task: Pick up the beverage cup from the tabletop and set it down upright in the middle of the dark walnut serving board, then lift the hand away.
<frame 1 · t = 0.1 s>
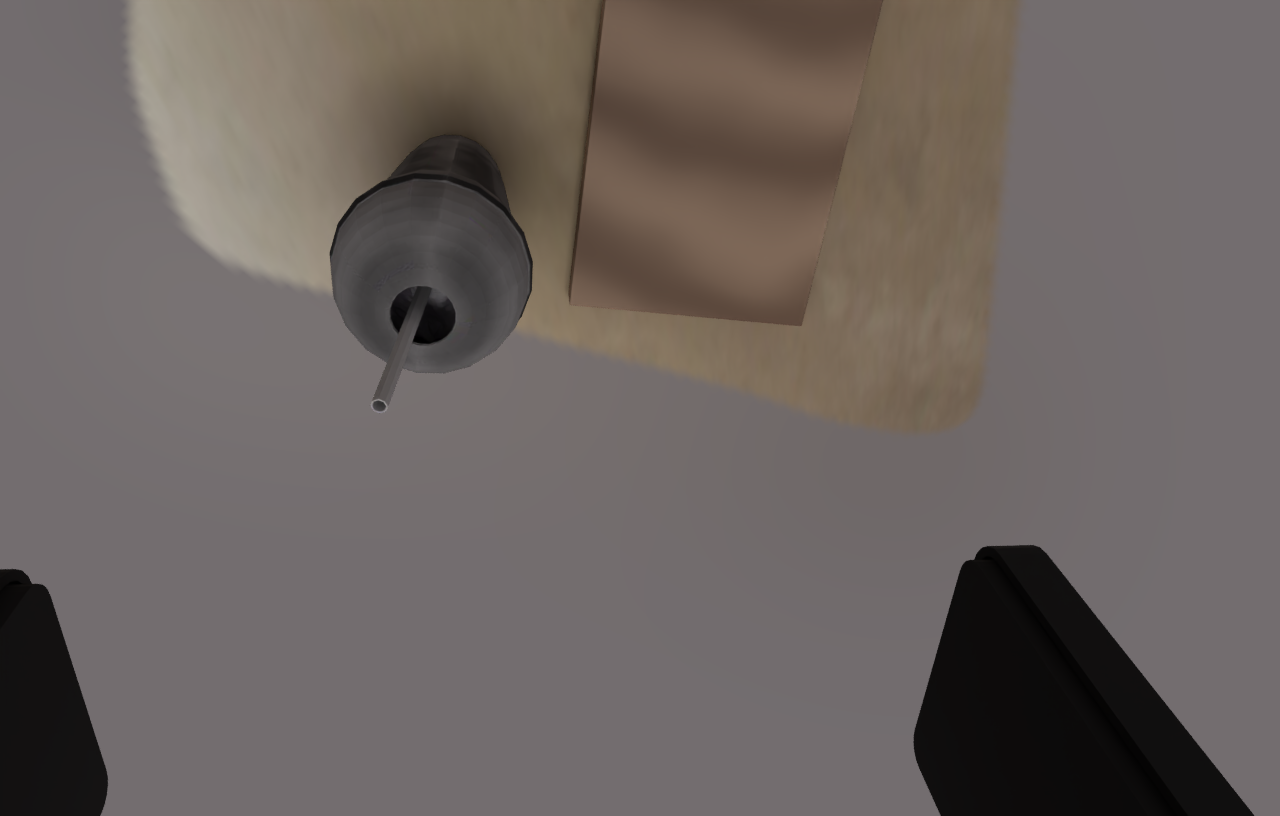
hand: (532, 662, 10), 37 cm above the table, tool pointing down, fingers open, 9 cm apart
serving board: (715, 128, 44), on the table
beverage cup: (453, 182, 44), on the table
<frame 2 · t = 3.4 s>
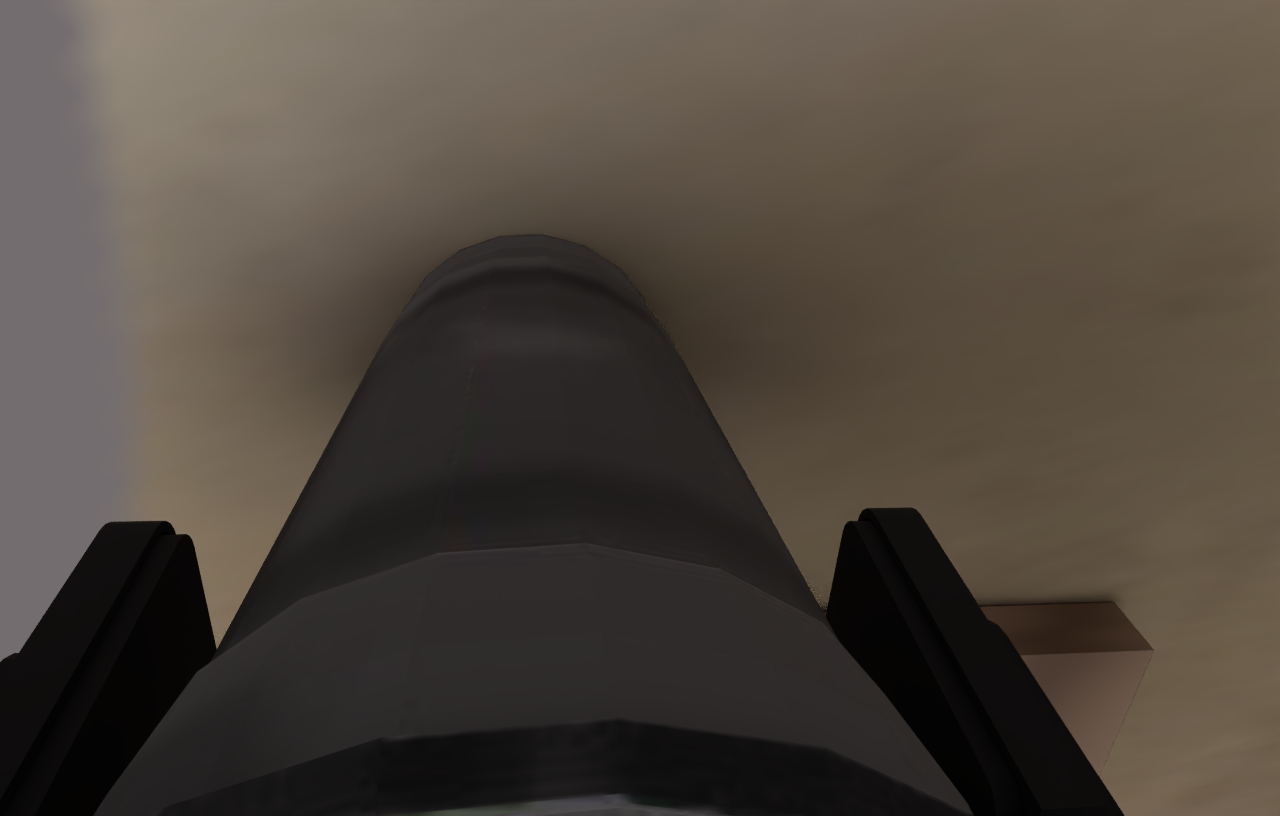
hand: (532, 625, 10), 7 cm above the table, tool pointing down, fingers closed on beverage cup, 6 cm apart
serving board: (694, 804, 22), on the table
beverage cup: (529, 353, 16), on the table, touching gripper
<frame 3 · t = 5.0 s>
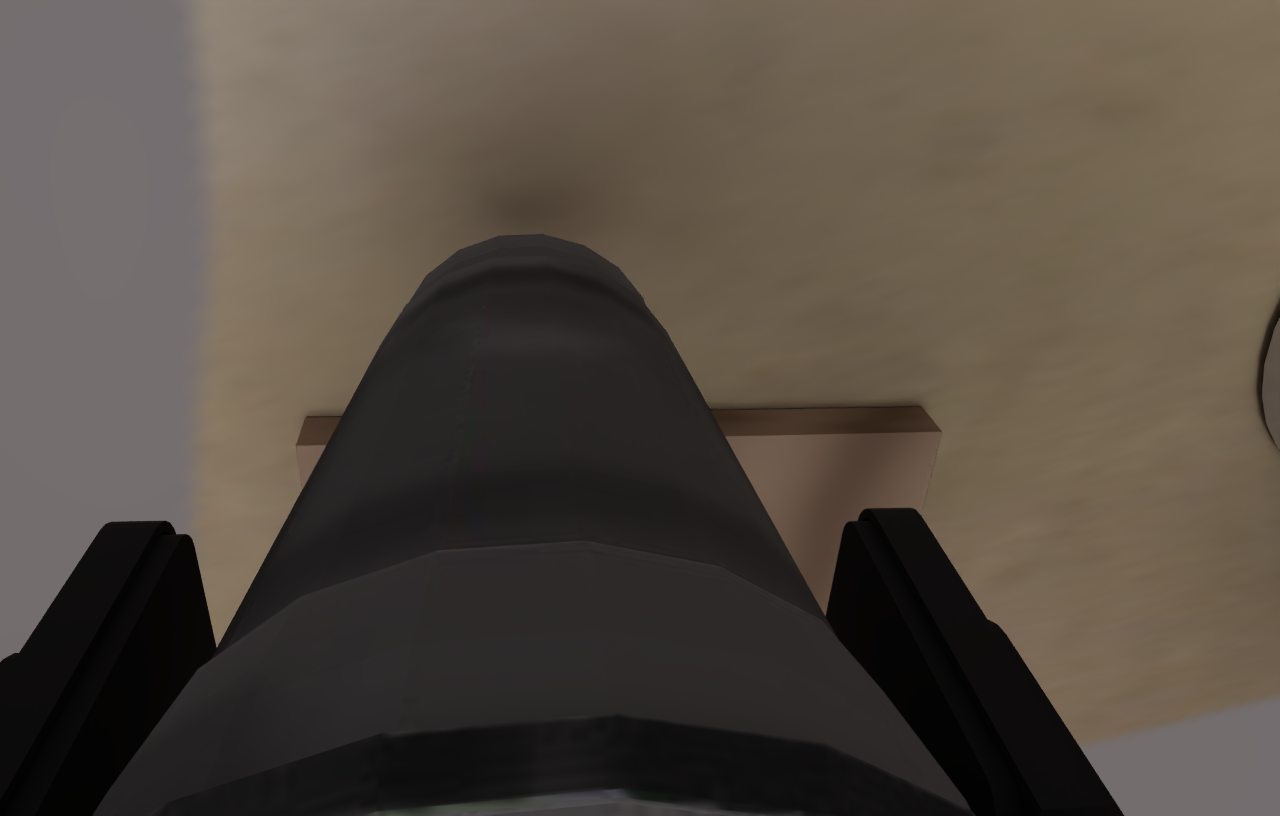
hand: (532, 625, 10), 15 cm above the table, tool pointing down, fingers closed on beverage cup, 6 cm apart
serving board: (619, 574, 30), on the table
beverage cup: (528, 353, 16), point 8 cm above the table, touching gripper
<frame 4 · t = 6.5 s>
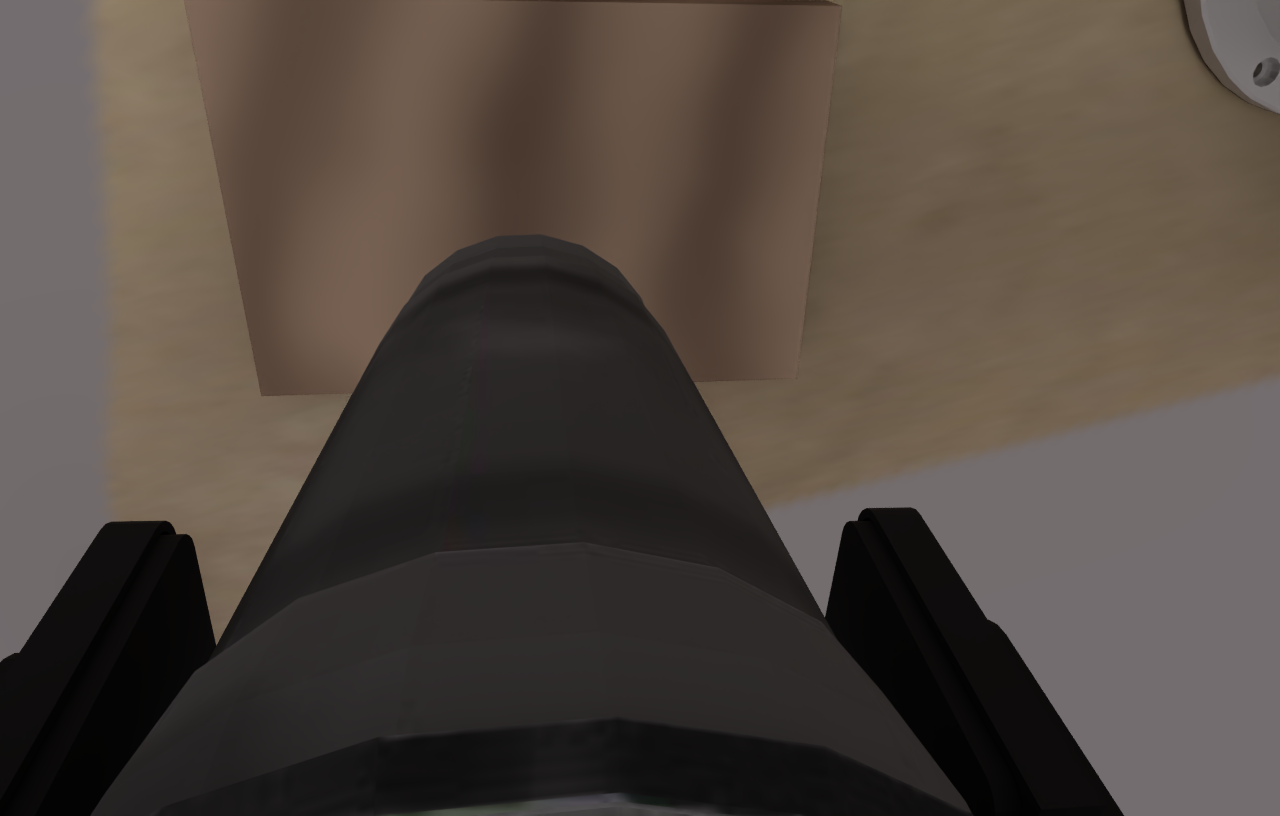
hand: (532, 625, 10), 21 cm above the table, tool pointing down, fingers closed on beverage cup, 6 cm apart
serving board: (531, 199, 30), on the table
beverage cup: (527, 353, 16), point 15 cm above the table, touching gripper
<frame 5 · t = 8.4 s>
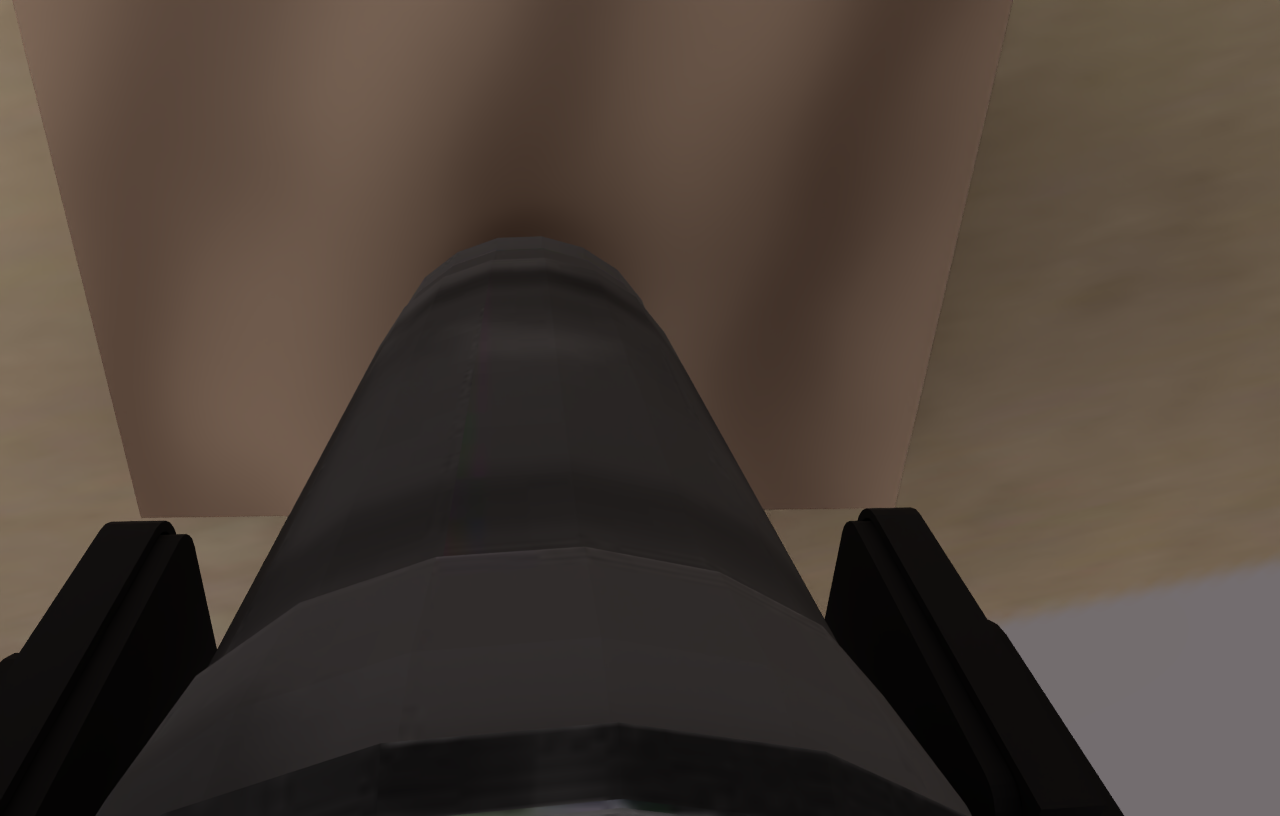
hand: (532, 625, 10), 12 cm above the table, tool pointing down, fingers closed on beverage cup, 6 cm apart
serving board: (536, 253, 21), on the table
beverage cup: (527, 355, 16), point 5 cm above the table, touching gripper
when the fingers open (9 cm above the table, at t = 10.0 s): beverage cup stays where it is, resting on serving board.
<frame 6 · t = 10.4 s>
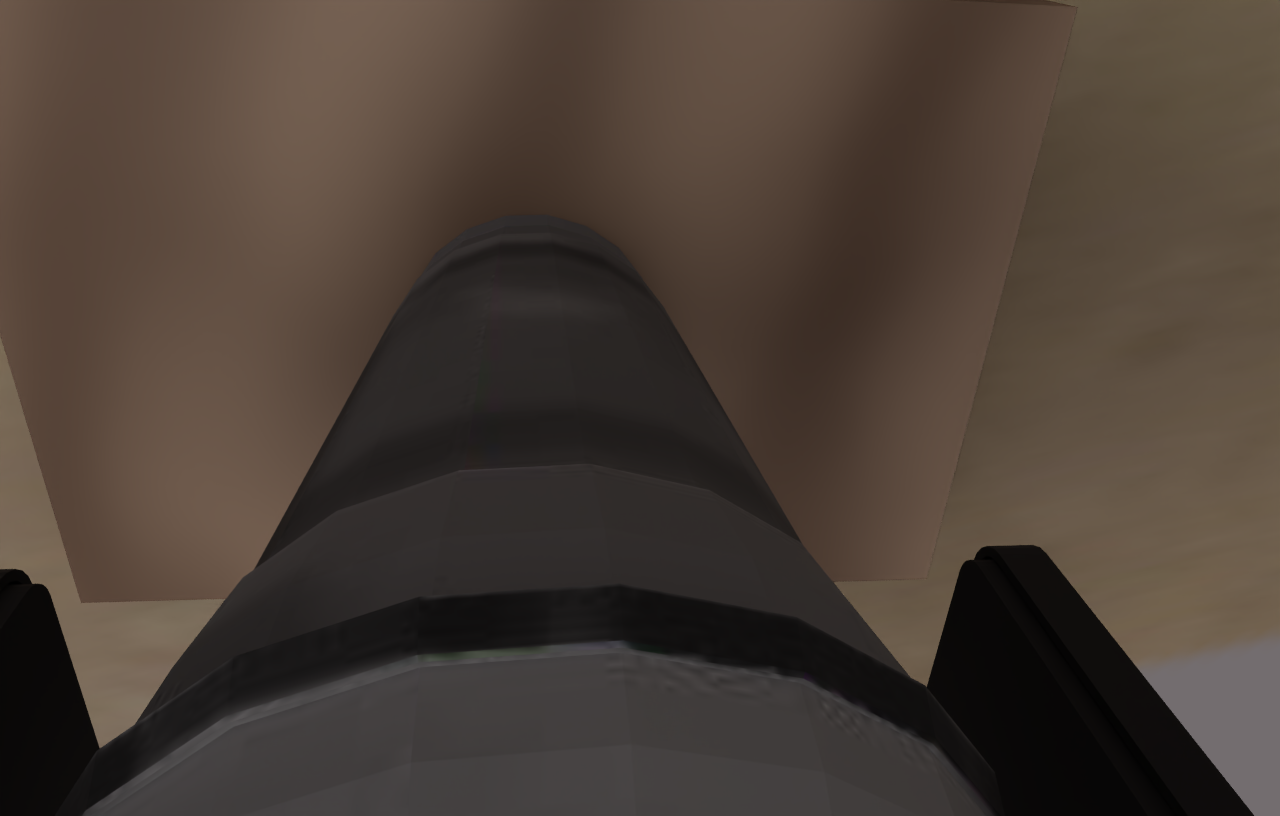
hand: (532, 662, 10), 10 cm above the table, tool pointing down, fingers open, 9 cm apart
serving board: (527, 304, 18), on the table
beverage cup: (532, 329, 17), point 1 cm above the table, touching serving board
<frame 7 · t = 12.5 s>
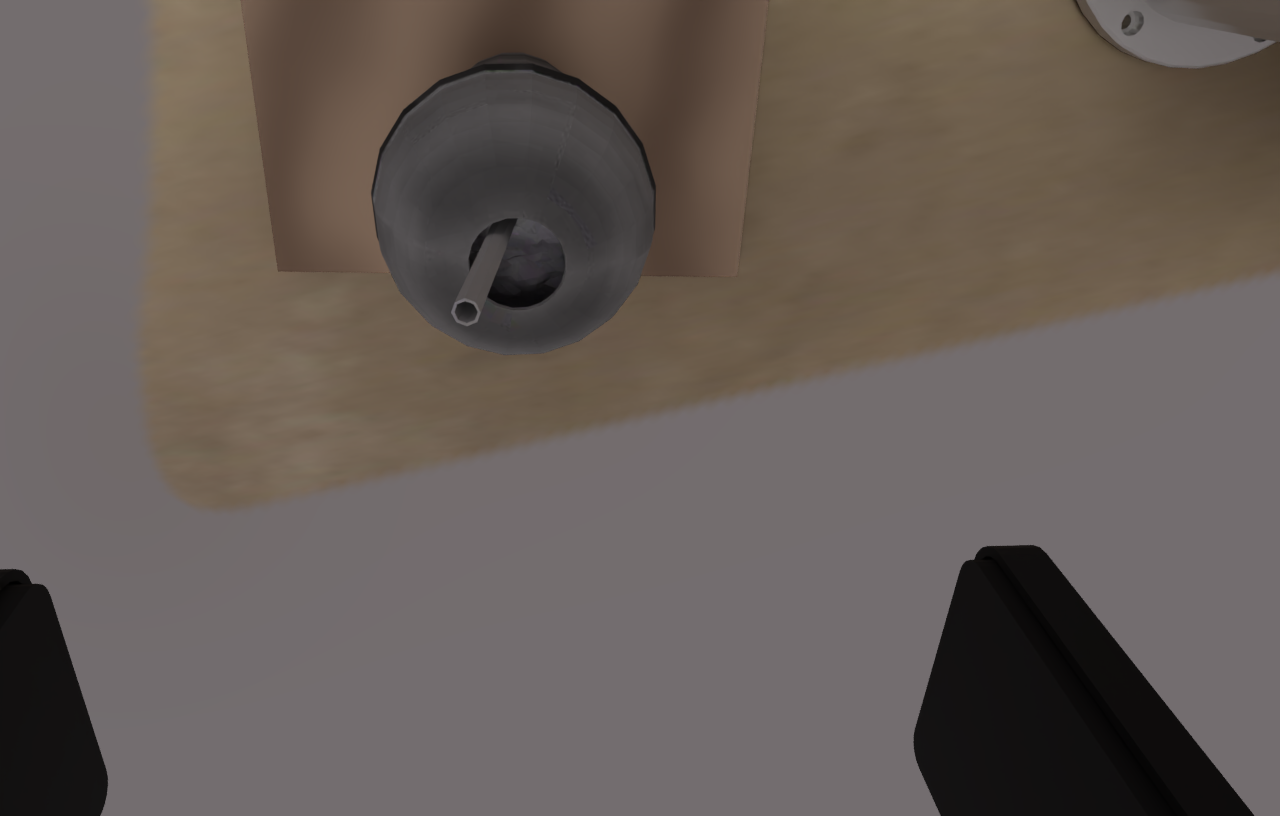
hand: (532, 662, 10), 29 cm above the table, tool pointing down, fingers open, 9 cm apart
serving board: (513, 110, 35), on the table
beverage cup: (516, 116, 34), point 1 cm above the table, touching serving board
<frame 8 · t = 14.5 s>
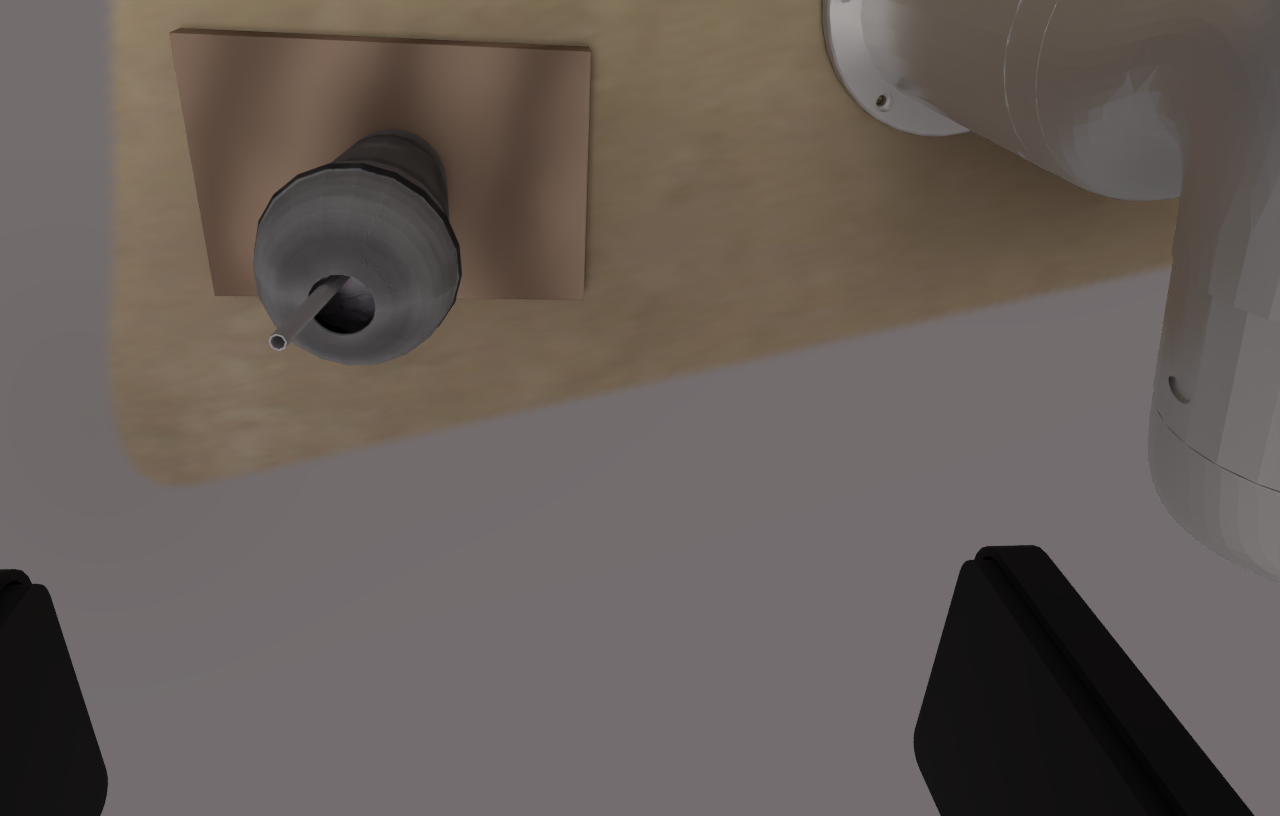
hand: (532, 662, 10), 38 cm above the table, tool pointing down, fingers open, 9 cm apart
serving board: (399, 170, 45), on the table
beverage cup: (397, 176, 44), point 1 cm above the table, touching serving board
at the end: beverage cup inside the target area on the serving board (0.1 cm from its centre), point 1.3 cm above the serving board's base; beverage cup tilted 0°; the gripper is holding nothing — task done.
